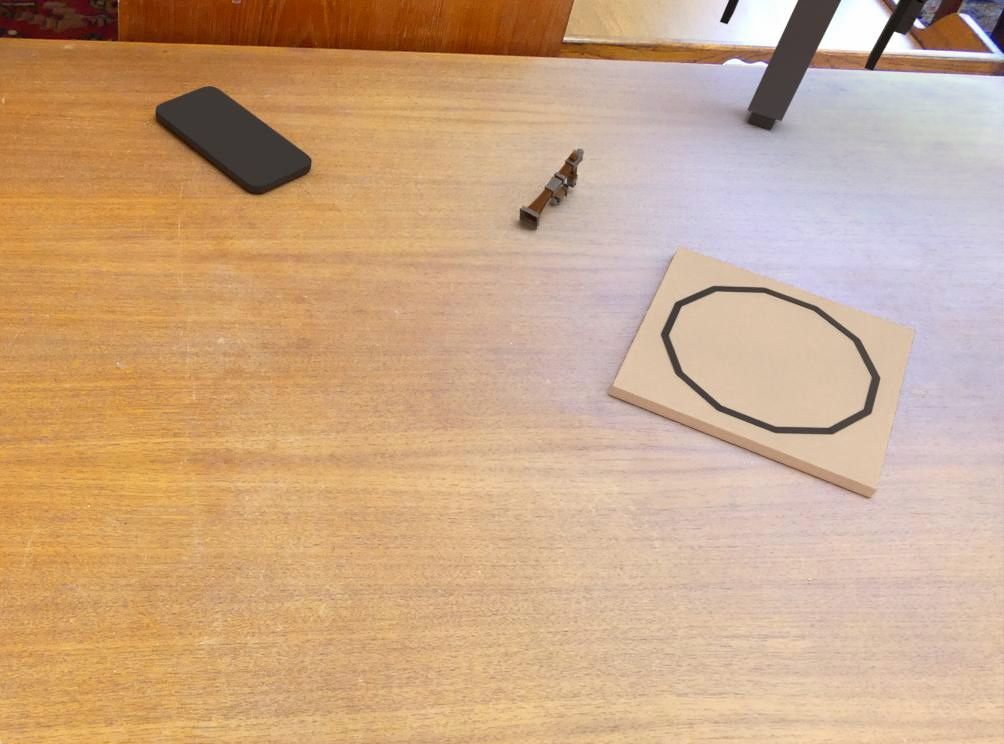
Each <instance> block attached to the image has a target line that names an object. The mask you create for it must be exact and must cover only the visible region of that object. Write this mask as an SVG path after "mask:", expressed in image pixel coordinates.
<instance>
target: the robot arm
mask: <svg viewBox="0 0 1004 744" xmlns="http://www.w3.org/2000/svg"><path fill="white" fill-rule="evenodd" d="M739 1H740V0H728V1H727V4H726V5H725V8H724V11H723V12H722V16H721V17H720V20H719V23H721V24H725V25H729V22H730V21H731V19H732V17H733V15H734V13H735V11H736V8H737V7H738V4H739ZM928 1H929V0H898V1H897V3H896V5H895V7H894V9H893V11H892V12H891V15H890V17H889V18H888V20H887V22H886V24H885V25H884V27H883V29H882V31H881V33H880V35H879V36H878V38H877V40H876V42H875V43H874V45H873V47H872V48H871V51H870V53H869V55H868V57H867V60H866V61H865V62H866V63H865V65H864V69H866V70H869V71H871V72H872V71H874V69H875V68H876V65H877V64H878V62H879V61H880V58H881V57H882V55H883V53H884V51H885V50H886V47H887V46H888V45H889V42H890V40H891V39H892V36H893V35H894V33H897V34H900V35H903V36H905V35H906V34H908V33H909V32H910V31H911V29H912V27H913V26H914V24H915V22H916V20H917V18H918V17H919V15H920V14H921V12H922V10H923V8H924V7H925V5H926V4H927V2H928Z"/></svg>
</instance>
